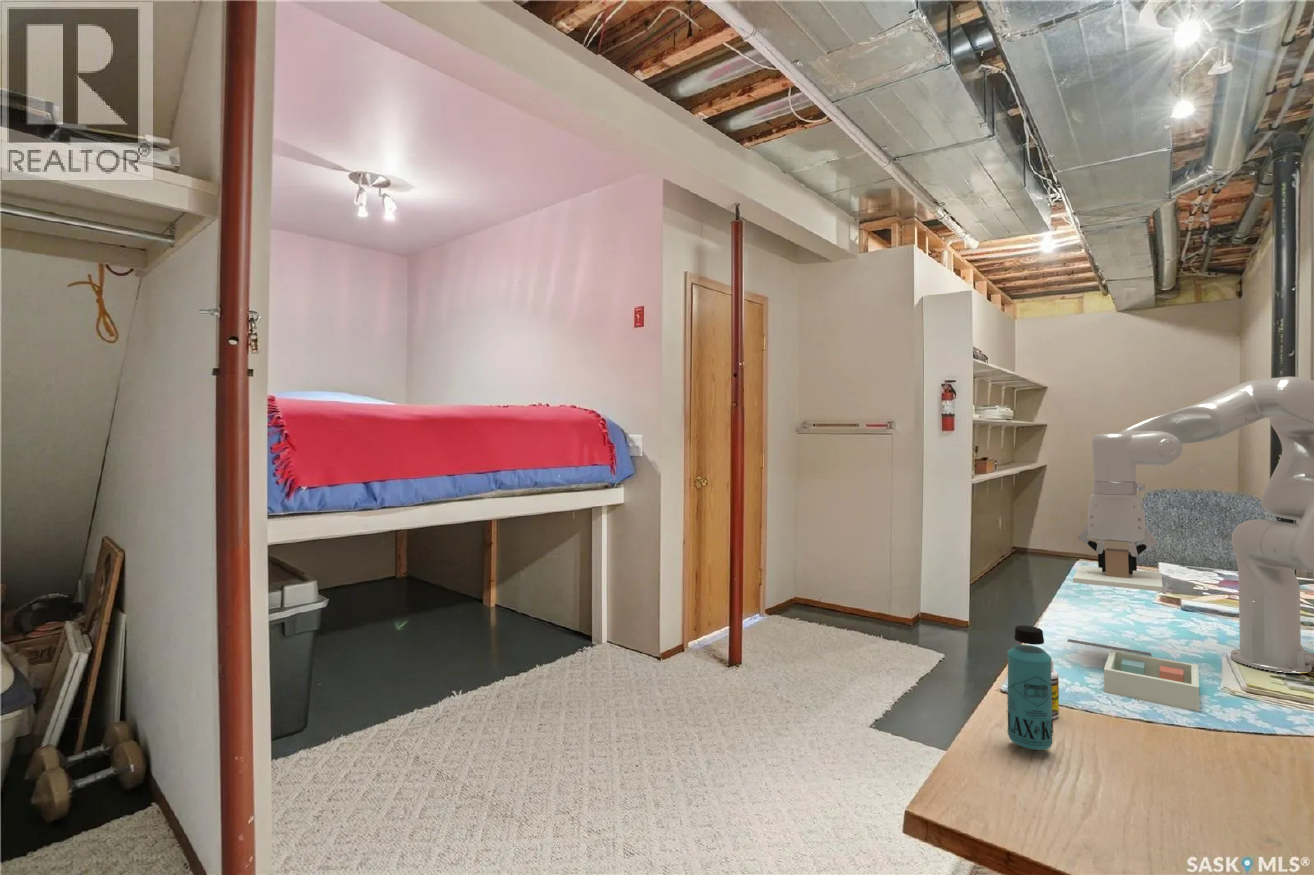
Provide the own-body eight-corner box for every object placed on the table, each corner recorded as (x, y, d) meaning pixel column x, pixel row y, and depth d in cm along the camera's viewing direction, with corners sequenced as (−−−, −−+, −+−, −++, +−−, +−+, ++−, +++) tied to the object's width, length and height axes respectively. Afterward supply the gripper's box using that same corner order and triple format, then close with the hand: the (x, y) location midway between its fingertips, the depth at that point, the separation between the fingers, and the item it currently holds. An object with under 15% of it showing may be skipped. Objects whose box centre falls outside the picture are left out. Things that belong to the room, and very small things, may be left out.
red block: (1183, 687, 121) (1183, 669, 121) (1183, 693, 119) (1183, 675, 119) (1160, 683, 124) (1159, 665, 124) (1159, 688, 121) (1159, 670, 121)
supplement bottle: (1050, 723, 109) (1049, 666, 109) (1017, 712, 113) (1016, 657, 113) (1065, 715, 112) (1063, 659, 112) (1032, 704, 116) (1031, 651, 117)
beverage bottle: (998, 741, 103) (996, 622, 103) (1035, 738, 103) (1033, 620, 103) (1025, 761, 96) (1022, 634, 96) (1064, 758, 97) (1062, 632, 97)
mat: (1151, 654, 141) (1151, 653, 141) (1147, 675, 129) (1147, 673, 129) (1068, 640, 152) (1068, 639, 152) (1058, 658, 140) (1058, 657, 140)
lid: (1161, 577, 135) (1160, 548, 135) (1162, 591, 124) (1161, 559, 124) (1079, 569, 145) (1078, 542, 145) (1073, 582, 133) (1072, 552, 133)
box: (1198, 690, 122) (1198, 664, 122) (1199, 714, 111) (1198, 687, 111) (1111, 673, 131) (1110, 649, 131) (1104, 694, 120) (1103, 669, 120)
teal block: (1145, 680, 125) (1144, 662, 125) (1144, 685, 123) (1143, 668, 123) (1123, 676, 128) (1122, 658, 128) (1121, 681, 125) (1121, 663, 125)
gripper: (1163, 488, 132) (1166, 573, 132) (1070, 486, 142) (1073, 565, 142) (1164, 491, 126) (1167, 580, 126) (1067, 489, 137) (1069, 571, 137)
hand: (1117, 571), depth 134 cm, fingers closed on lid, 4 cm apart
